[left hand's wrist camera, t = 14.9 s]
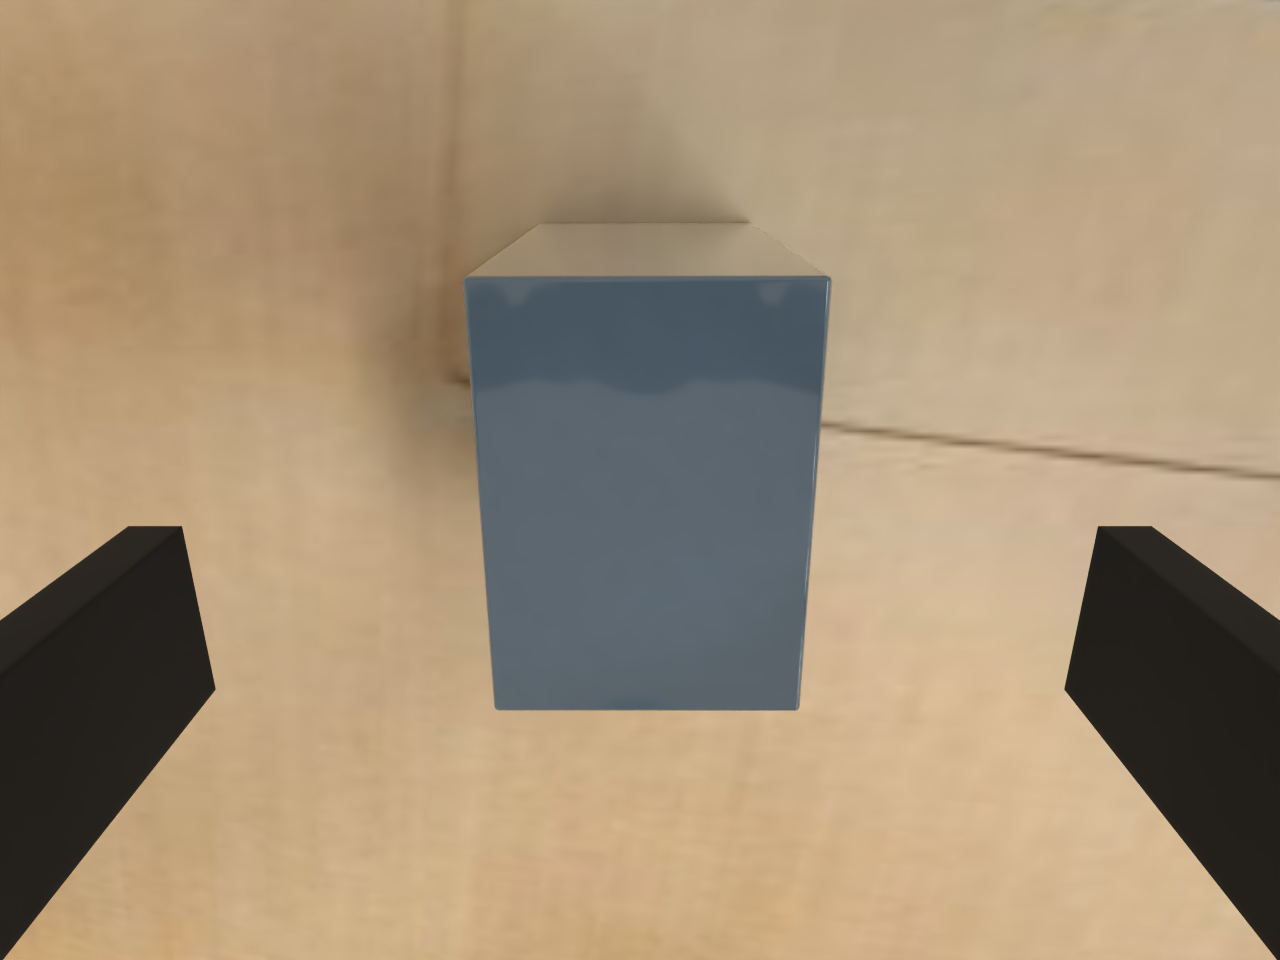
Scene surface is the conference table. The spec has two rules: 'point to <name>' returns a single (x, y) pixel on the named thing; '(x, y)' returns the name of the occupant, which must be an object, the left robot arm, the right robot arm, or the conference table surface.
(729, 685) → the brick
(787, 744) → the conference table surface
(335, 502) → the conference table surface
